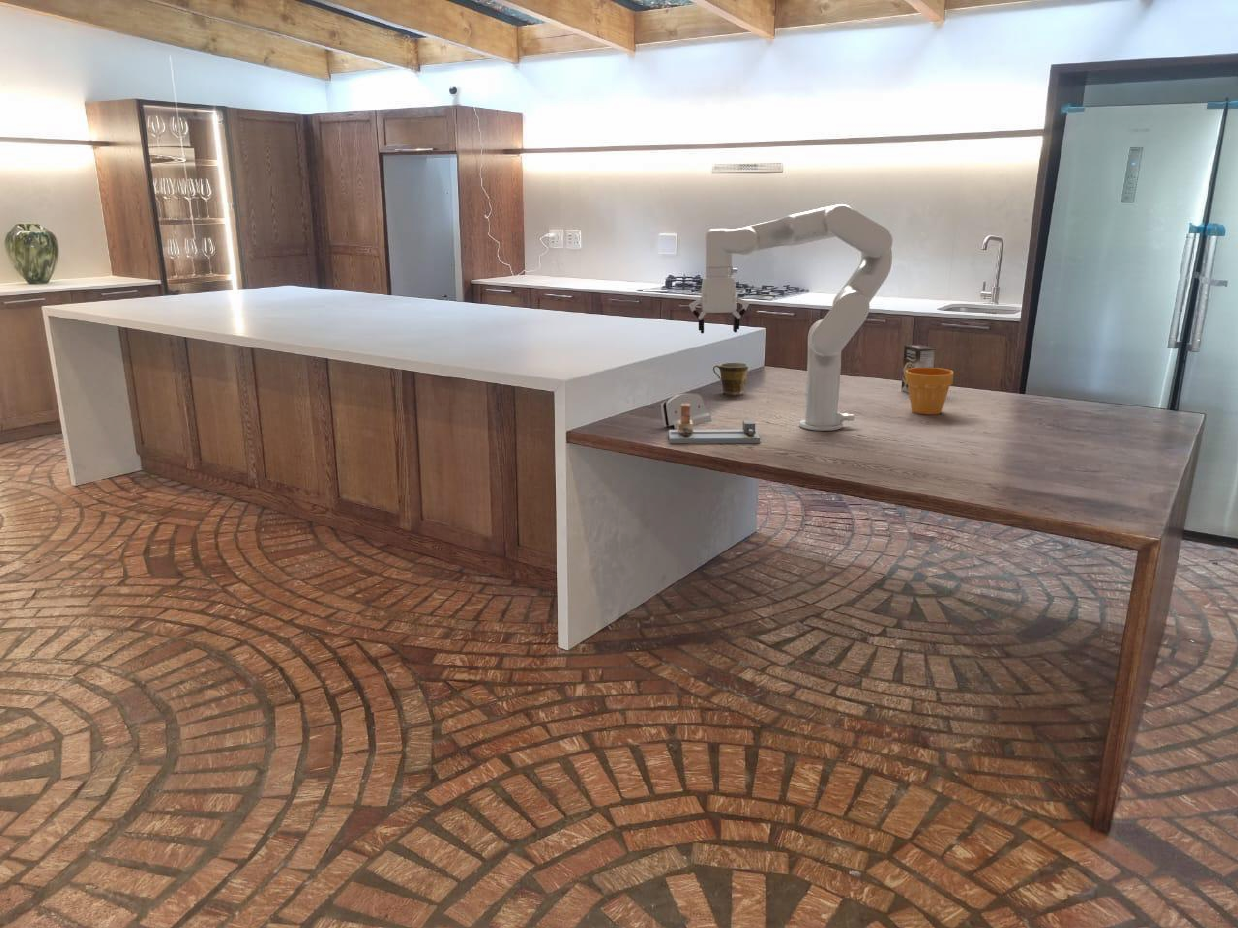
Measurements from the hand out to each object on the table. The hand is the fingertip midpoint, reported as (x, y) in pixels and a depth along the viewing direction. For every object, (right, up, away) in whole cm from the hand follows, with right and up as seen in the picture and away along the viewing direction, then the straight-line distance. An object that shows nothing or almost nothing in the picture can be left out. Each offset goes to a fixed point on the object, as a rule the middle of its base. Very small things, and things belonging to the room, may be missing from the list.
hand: (718, 332), depth 262 cm
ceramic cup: (+10, -14, +54) cm, 56 cm away
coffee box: (+75, -14, +50) cm, 91 cm away
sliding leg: (-11, -30, -11) cm, 34 cm away
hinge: (-9, -26, +10) cm, 30 cm away
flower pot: (+68, -22, +21) cm, 75 cm away
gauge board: (-3, -32, -10) cm, 33 cm away
